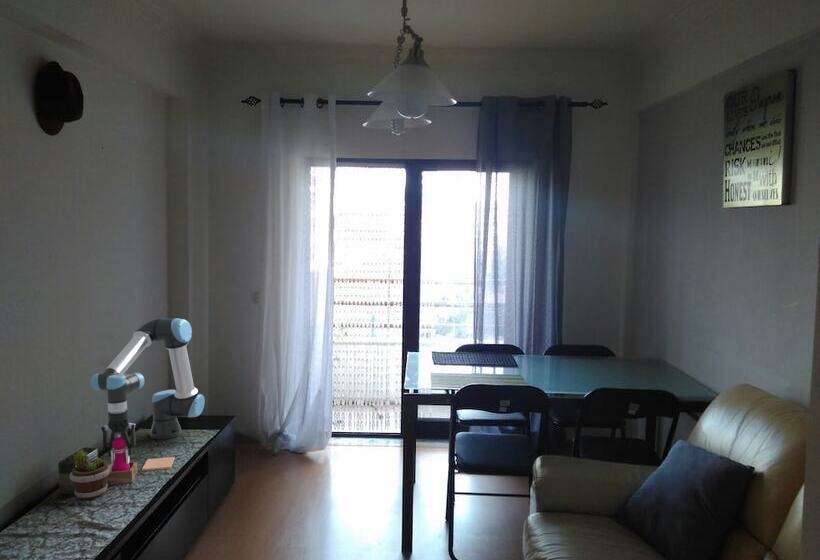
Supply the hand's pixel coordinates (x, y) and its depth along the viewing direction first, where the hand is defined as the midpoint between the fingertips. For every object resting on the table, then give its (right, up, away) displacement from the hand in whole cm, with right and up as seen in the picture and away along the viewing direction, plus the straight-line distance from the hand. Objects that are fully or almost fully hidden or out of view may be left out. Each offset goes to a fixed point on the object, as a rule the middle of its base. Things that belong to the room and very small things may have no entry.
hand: (120, 463), depth 271 cm
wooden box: (0, -7, +1) cm, 7 cm away
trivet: (+10, -5, +16) cm, 20 cm away
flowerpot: (-5, -9, -16) cm, 18 cm away
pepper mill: (0, -7, +1) cm, 7 cm away
